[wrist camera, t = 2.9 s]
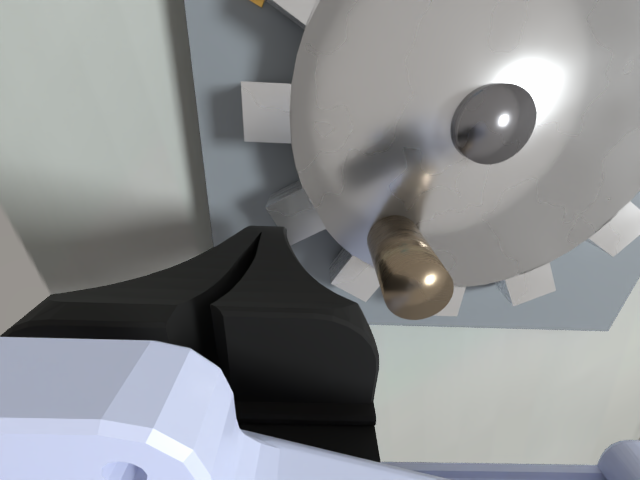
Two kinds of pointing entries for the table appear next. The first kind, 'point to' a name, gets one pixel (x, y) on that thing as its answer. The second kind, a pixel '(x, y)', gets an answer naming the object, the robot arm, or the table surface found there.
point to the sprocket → (456, 141)
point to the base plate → (280, 171)
